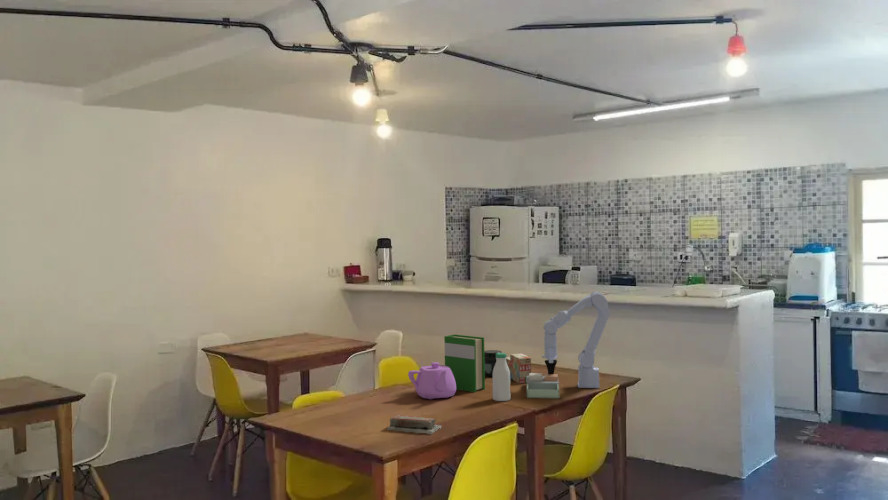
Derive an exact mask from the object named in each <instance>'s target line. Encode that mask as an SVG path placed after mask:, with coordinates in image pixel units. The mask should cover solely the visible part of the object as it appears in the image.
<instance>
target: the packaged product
mask: <svg viewBox="0 0 888 500" xmlns="http://www.w3.org/2000/svg"><path fill="white" fill-rule="evenodd" d="M435 423H436V419H435V418H432V417H421V416H413V415H404V414H403V415H402V414H395V415H394V416H392V417H391V418H390V419H389V426H388V427H387V431H389V430H396V431H395V432H399V431H404V432H403V433H409V432H413V433H412V434H419V433H427V434H426V435H433V434H435V433H436V432H437V430H438V429H439V428H440V429H441V428H442V425H441V424H435ZM440 429H439V430H440ZM439 430H438V431H439ZM435 431H436V432H435ZM414 432H415V433H414ZM434 432H435V433H434ZM432 433H433V434H432Z"/></svg>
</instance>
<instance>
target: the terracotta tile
mask: <svg viewBox="0 0 888 500" xmlns="http://www.w3.org/2000/svg"><path fill="white" fill-rule="evenodd" d="M558 375H559V374H558V373H554V374H548V373H544V376H545V381H558V380H559V376H558Z"/></svg>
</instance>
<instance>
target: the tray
mask: <svg viewBox="0 0 888 500" xmlns="http://www.w3.org/2000/svg"><path fill="white" fill-rule="evenodd" d="M526 398H527V399H560V384H559V385H558V384H557V390H532V389H528V384H527V386H526Z"/></svg>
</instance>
